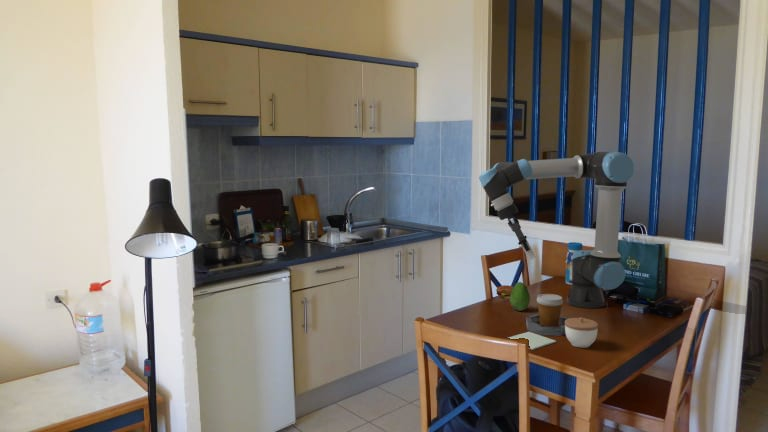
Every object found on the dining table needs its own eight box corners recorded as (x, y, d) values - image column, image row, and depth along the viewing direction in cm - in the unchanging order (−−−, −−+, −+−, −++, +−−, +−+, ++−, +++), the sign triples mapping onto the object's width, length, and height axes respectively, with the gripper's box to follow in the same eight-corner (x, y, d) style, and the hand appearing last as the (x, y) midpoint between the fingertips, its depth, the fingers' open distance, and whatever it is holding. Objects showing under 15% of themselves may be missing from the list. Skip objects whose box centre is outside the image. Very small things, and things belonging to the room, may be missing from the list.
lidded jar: (589, 338, 194) (590, 312, 193) (602, 349, 183) (603, 322, 182) (559, 339, 193) (560, 313, 192) (570, 350, 183) (571, 323, 182)
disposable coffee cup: (563, 333, 200) (564, 301, 198) (536, 331, 202) (537, 299, 200) (561, 325, 209) (561, 294, 208) (534, 323, 211) (535, 293, 209)
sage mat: (528, 332, 200) (528, 331, 200) (556, 342, 191) (556, 340, 191) (505, 339, 194) (505, 338, 194) (532, 349, 184) (532, 348, 184)
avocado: (520, 314, 223) (521, 285, 221) (506, 309, 229) (506, 281, 228) (533, 310, 228) (534, 282, 226) (518, 306, 234) (519, 278, 232)
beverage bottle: (570, 280, 278) (572, 241, 276) (586, 283, 272) (587, 243, 269) (561, 283, 273) (562, 243, 270) (577, 286, 266) (578, 245, 264)
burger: (515, 293, 255) (515, 283, 254) (520, 299, 245) (520, 289, 245) (494, 294, 255) (494, 284, 254) (498, 299, 245) (498, 289, 245)
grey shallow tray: (545, 319, 216) (545, 311, 216) (581, 329, 203) (581, 321, 203) (517, 326, 207) (517, 319, 207) (552, 338, 194) (552, 330, 194)
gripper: (496, 211, 223) (521, 258, 222) (495, 212, 199) (523, 264, 197) (513, 202, 222) (538, 249, 220) (514, 202, 198) (542, 255, 196)
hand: (531, 256), depth 209 cm, fingers open, 13 cm apart
